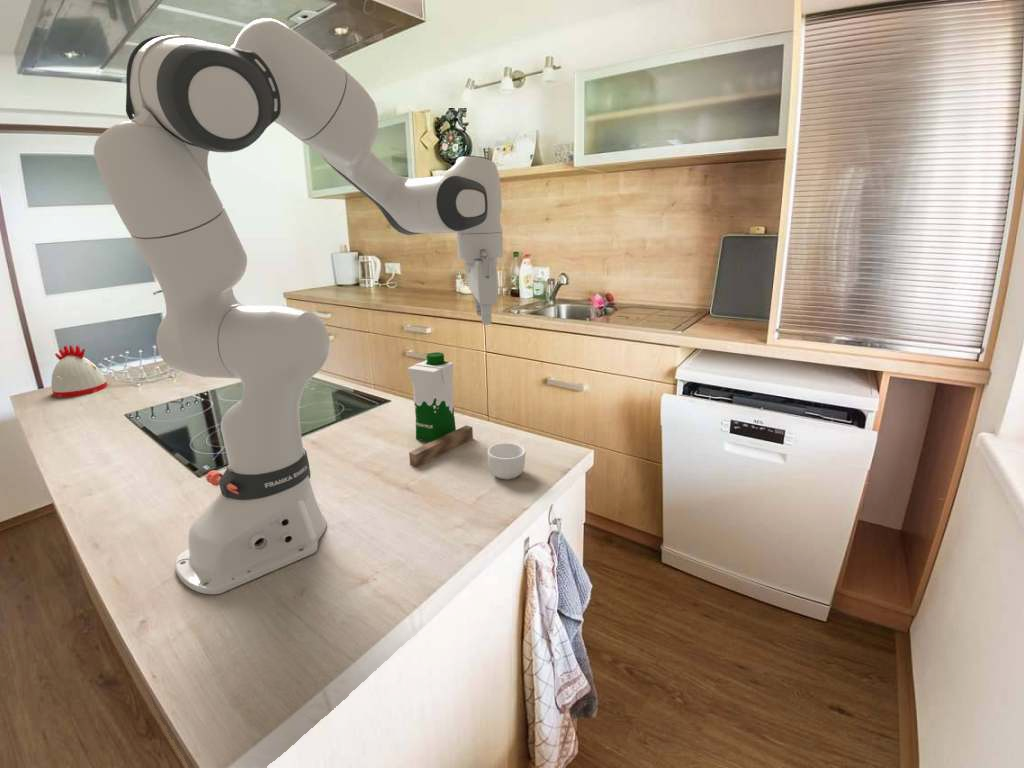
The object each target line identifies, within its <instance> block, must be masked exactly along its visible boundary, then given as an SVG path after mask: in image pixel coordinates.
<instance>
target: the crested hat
mask: <svg viewBox="0 0 1024 768" xmlns="http://www.w3.org/2000/svg"><path fill="white" fill-rule="evenodd" d="M85 351H86V349H85V348H82V350H81V348H80V346H79V345H76V347H75V349H74V347H73V345H71V344H70V345H69V348H68V346H67V345H64V346H63V349H61V348H60V349H58V352H59V353H60V354H61V355H60V354H59V353H55V354H54V356H55V357H56V359H58V360H59V361H58V362H56V363H57V364H55V366H54V368H53V371H52V375H51V385H50V386H51V391H52V394H53V396H54V397H56V398H70V397H79V396H85V395H88V394H93V393H96V392H100V391H102V390H104V389H105V388H107V387H108V382H107V379H106V377H105V375H104V374H103V373H102V371H101V370H100V368H99V367H98V366H97V365H96V364H95V363H94V362H92V361H91V360H89V359H88V358H86V357H84V355H85Z"/></svg>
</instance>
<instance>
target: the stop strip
mask: <svg viewBox="0 0 1024 768" xmlns="http://www.w3.org/2000/svg"><path fill="white" fill-rule="evenodd" d="M473 439H474V431H473V426H469V425H467V424H466V425H464V426H461V427H459V428H457V429H456V430H455V431H453V432H451V433H449V434H447V435H445V436H442V437H440V438H438V439H436V440H434V441H432V442H428V443H425V444H424V445H422V446H420V447H417V448H415V449H413V450H411V451H409V452H408V454H409V455H408V458H409V465H410V466H412V467H415V468H418V467H420V466H423V465H424V464H426V463H429V462H430V461H432V460H434V459H436V458H438V457H440V456H442V455H444V454H445V453H447V452H450V451H452V450H454V449H455V448H458V447H459V446H461V445H463V444H466V443H467V442H469V441H471V440H473Z"/></svg>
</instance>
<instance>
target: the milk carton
mask: <svg viewBox="0 0 1024 768" xmlns="http://www.w3.org/2000/svg"><path fill="white" fill-rule="evenodd" d="M407 371H408V373H409V377H410V379H411V382H412V383H411V384H412V390H413V402H414V403H413V404H414V413H415V439H416V440H420V441H424V442H428V443H430V442H432V441H434V440H436V439H438V438H440V437H442V436H445V435H447V434H449V433H451V432H453V431H455V430H457V429H456V419H455V409H454V408H455V407H454V392H453V373H454V362H450V361H445V354H444V353H443V352H430V353H427V354H426V360H423V361H420V362H418V363H414V364H413V365H412V366H409V367H407Z"/></svg>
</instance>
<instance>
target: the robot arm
mask: <svg viewBox="0 0 1024 768" xmlns="http://www.w3.org/2000/svg"><path fill="white" fill-rule="evenodd" d="M125 77H126V80H125V82H126V83H125V84H126V86H125V87H126V94H125V95H126V96H125V99H126V100H125V113H126V115H127V117H128V119H129V120H127V121H123V122H119V123H117V124H114V125H113V126H111V127H109V128H107V129H106V130H105V131H104V132H102V133H101V134H100V135H99V136H98V137H97V139H96V140H95V143H94V147H93V157H94V160H95V161H94V162H95V164H96V166H97V169H98V172H99V174H100V178H101V180H102V182H103V185H104V187H105V189H106V191H107V193H108V196H109V199H110V200H111V202H112V204H113V206H114V208H115V210H116V211H117V214H118V215H119V218H120V219H121V221H122V223H123V225H124V226H125V228H126V230H127V231H128V233H129V235H130V236H131V238H132V239H133V241H134V243H135V244H136V246H137V247H138V249H139V251H140V252H141V254H142V256H143V258H144V259H145V261H146V263H147V265H148V267H149V268H150V270H151V272H152V274H153V275H154V276H155V279H156V280H157V282H158V284H159V286H160V289H161V292H162V294H163V297H164V303H165V316H164V317H163V319H162V320H161V322H160V324H159V326H158V328H157V332H156V348H157V350H158V353H159V355H160V358H161V359H162V361H163V362H164V363H165V365H167V366H168V367H169V368H171V369H173V370H175V371H179V372H182V373H186V374H188V375H193V376H197V377H201V378H211V379H213V378H216V379H240V381H241V382H242V390H243V391H242V399H241V400H239V401H238V402H236V403H235V404H234V405H232V406H231V407H229V409H228V410H227V411H226V412H225V413H224V415H223V417H222V419H221V423H220V431H221V434H222V435H221V436H222V440H223V444H224V448H225V453H226V458H227V462H228V464H227V467H226V470H225V471H224V472H223V473H220V472H219V471H218V470H214V469H213V470H210V471H209V472H207V474H206V475H205V480H206V482H207V483H209V484H211V485H212V486H217V487H218V486H219V489H220V493H219V494H218V495H216V497H215V498H214V500H212V502H211V503H210V504H209V505H208V506H207V507H206V508H205V510H204V511H203V512H202V513H201V514H199V516H198V517H197V518H196V519H195V520H194V521H193V522H192V524H191V526H190V528H189V533H188V548H187V549H186V550H184V551H182V552H181V553H180V554H178V555H177V557H176V560H175V565H174V566H175V571H176V575H177V577H178V578H179V580H180V581H181V582H182V583H183V584H184V585H186V586H187V588H189V589H191V590H193V591H195V592H197V593H200V594H206V595H220V594H222V593H225V592H228V591H229V590H232V589H234V588H236V587H237V588H238V587H239V586H241V585H244V584H246V583H248V582H250V581H253V580H255V579H257V578H259V577H262V576H264V575H266V574H269V573H271V572H273V571H275V570H279V569H280V568H284V567H285V566H288V565H290V564H292V563H294V562H297V561H299V560H301V559H304V558H306V557H308V556H311V555H313V554H314V553H316V552H317V550H318V549H319V548H318V547H319V540H320V538H321V537H322V535H323V534H324V532H325V531H326V527H327V520H326V518H325V516H324V515H323V512H322V511H321V510H320V507H319V505H318V503H317V502H318V501H317V500H316V496H315V493H314V491H313V488H312V483H311V480H310V479H311V469H310V463H309V462H310V461H309V457H308V453H307V449H305V448H304V445H303V440H302V439H303V437H302V430H301V424H300V421H301V420H300V403H301V398H302V394H303V392H304V391H305V390H304V389H305V387H306V385H307V384H308V382H309V381H310V380H311V379H312V378H313V377H314V376H315V375H317V373H318V372H320V371H321V370H322V369H323V367H324V366H325V364H326V362H327V360H328V357H329V354H330V350H331V349H330V348H331V337H330V335H329V331H328V329H327V326H326V325H325V323H324V321H323V320H322V319H321V318H320V317H319V316H318V314H316V313H315V312H312V311H309V310H304V309H301V308H298V307H297V308H296V307H291V306H286V305H246V304H242V303H240V302H239V300H238V299H237V298H236V296H235V294H234V291H233V288H234V286H236V285H237V284H238V283H239V282H240V281H241V280H242V278H243V276H244V275H245V272H246V270H247V266H248V257H247V252H245V251H246V250H245V249H244V247H243V245H242V243H241V241H240V238H239V237H238V236H239V235H238V234H237V232H236V230H235V228H234V226H233V224H232V222H231V219H230V217H229V215H228V213H227V211H226V209H225V206H224V205H223V203H222V200H221V199H220V196H219V195H218V193H217V191H216V189H215V187H214V186H213V184H212V178H211V175H210V173H209V165H208V163H209V162H208V160H209V158H208V157H209V153H210V152H214V153H233V152H235V153H236V152H239V151H242V150H244V149H247V148H248V147H250V146H251V145H253V144H254V143H256V141H257V140H258V139H260V137H261V136H262V135H263V133H264V132H265V131H266V129H267V128H268V127H270V126H271V125H272V124H273V123H276V124H278V125H279V126H281V127H283V129H285V130H286V131H288V132H289V134H290V133H291V135H293V136H294V137H296V138H297V139H298V140H300V141H301V142H302V143H304V144H305V145H307V147H309V148H311V150H313V151H315V152H316V153H317V154H319V156H321V157H322V158H323V160H324V161H326V163H327V164H328V166H330V167H331V168H332V169H333V170H334V171H335V172H336V173H337V174H339V176H341V177H342V178H344V179H345V180H346V182H348V183H349V184H351V185H352V186H353V187H354V188H355V189H357V190H358V191H359V192H360V193H361V194H363V195H364V196H365V198H367V199H369V200H370V201H371V202H372V203H373V204H374V205H375V206H376V207H377V208H378V209H379V210H380V211H381V213H382V214H383V216H384V217H385V218H386V221H388V223H389V224H390V226H391V227H392V228H393V229H394V230H395V231H397V232H398V233H400V234H403V235H406V236H412V235H421V234H422V235H423V234H453V233H456V245H457V246H456V248H457V259H460V260H463V262H464V268H465V275H466V280H467V286H468V290H469V291H470V292H471V294H472V295H473V299H474V304H475V313H476V315H477V316H480V317H481V318H480V319H481V323H482V325H485V326H486V325H492V314H493V304H496V303H497V304H498V301H499V286H498V284H499V282H498V271H497V266H498V259H499V258H501V259H502V258H503V257H504V243H503V242H504V238H503V234H504V233H503V232H504V231H503V227H502V224H501V213H502V206H503V205H502V203H503V202H502V190H501V189H502V188H501V180H500V175H499V170H498V167H497V164H496V163H495V162H494V161H493V160H491V159H490V158H487V157H485V156H484V157H483V156H476V155H465V156H464V155H463V156H460V157H458V158H457V159H456V160H455V163H454V165H452V167H450V168H449V169H447V170H446V171H444V172H442V173H440V174H439V175H432V176H422V177H421V176H420V177H408V176H403V175H399V174H396V173H395V172H393V171H392V169H390V168H389V166H387V165H386V164H385V163H384V162H383V161H382V160H381V159H380V158H379V157H378V156H377V155H376V154H375V153H374V152H373V151H371V149H372V148H373V146H374V142H375V140H376V138H377V134H378V129H379V115H378V110H377V106H376V103H375V101H374V100H373V98H372V97H371V96H370V94H369V93H368V91H367V90H366V89H365V87H363V86H362V85H361V83H359V81H358V80H356V78H355V77H354V76H352V75H351V74H350V73H349V72H348V71H347V70H345V68H343V66H341V65H340V64H339V63H338V62H336V60H334V59H333V58H332V57H331V56H330V55H329V54H327V53H326V52H325V51H324V50H322V49H321V48H319V47H318V46H317V45H315V44H314V43H313V42H311V41H310V40H308V39H307V38H306V37H304V36H303V35H301V34H299V32H297V31H295V30H294V29H292V28H290V27H289V26H288V25H286V24H284V23H282V22H280V21H278V20H276V19H273V18H260V19H256V20H253V21H252V22H250V23H249V24H247V25H246V26H245V27H243V29H242V30H241V31H240V33H238V35H237V36H236V39H235V41H234V43H233V44H232V45H231V46H227V45H223V44H219V43H213V42H207V41H204V40H201V39H199V38H196V37H193V36H187V35H179V34H175V35H156V36H155V35H154V36H151V37H148V38H146V39H144V40H143V41H141V42H139V44H137V45H136V46H135V47H134V49H133V50H132V52H131V53H130V56H129V58H128V61H127V68H126V76H125Z"/></svg>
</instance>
